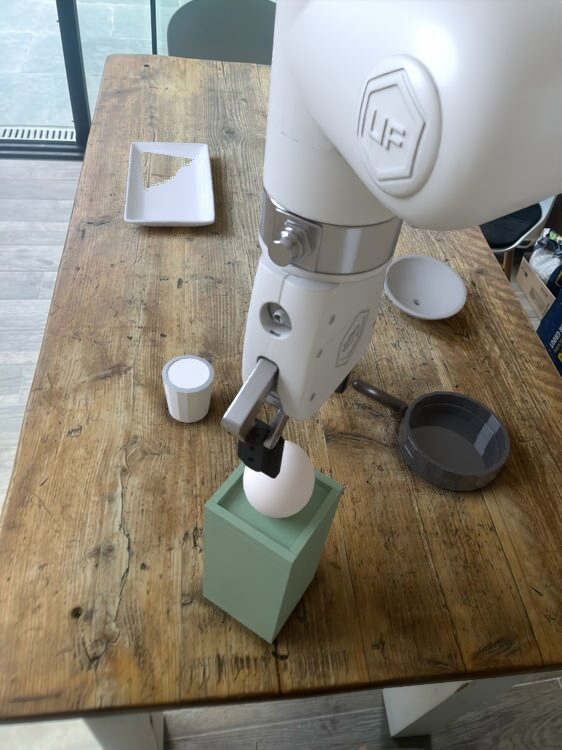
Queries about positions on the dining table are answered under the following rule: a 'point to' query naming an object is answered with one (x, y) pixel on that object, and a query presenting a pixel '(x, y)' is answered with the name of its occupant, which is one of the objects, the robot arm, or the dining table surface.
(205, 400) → the white cylinder
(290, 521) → the stand
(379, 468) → the dining table surface
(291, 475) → the egg
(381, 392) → the pan handle
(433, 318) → the dish
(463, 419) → the pan
